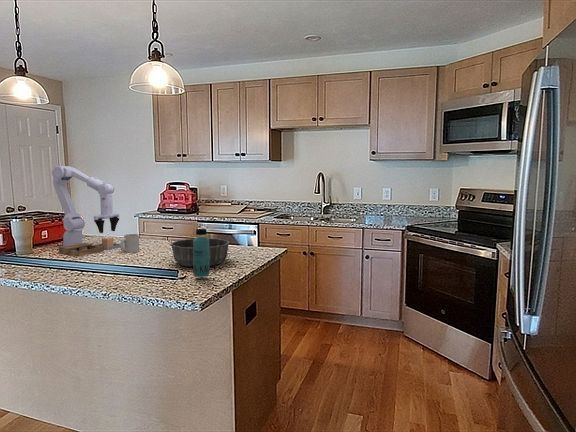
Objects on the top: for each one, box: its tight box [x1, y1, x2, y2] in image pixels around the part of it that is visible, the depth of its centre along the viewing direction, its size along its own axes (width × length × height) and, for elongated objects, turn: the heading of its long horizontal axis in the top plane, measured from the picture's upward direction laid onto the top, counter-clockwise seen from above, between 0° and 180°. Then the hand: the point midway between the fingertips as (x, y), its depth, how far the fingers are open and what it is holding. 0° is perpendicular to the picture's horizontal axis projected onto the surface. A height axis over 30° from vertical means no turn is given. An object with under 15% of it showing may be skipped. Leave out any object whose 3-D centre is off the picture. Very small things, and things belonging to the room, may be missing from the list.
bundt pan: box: [170, 237, 230, 267], centre depth 186 cm, size 26×26×10 cm
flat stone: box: [77, 246, 87, 251], centre depth 208 cm, size 4×4×2 cm
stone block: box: [101, 237, 114, 247], centre depth 216 cm, size 4×4×5 cm
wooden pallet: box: [58, 242, 105, 258], centre depth 203 cm, size 15×14×4 cm
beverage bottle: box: [192, 228, 211, 278], centre depth 159 cm, size 6×7×20 cm
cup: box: [119, 233, 140, 254], centre depth 207 cm, size 7×10×9 cm
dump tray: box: [94, 242, 121, 251], centre depth 217 cm, size 11×10×2 cm
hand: (107, 231), depth 216 cm, fingers open, 7 cm apart
